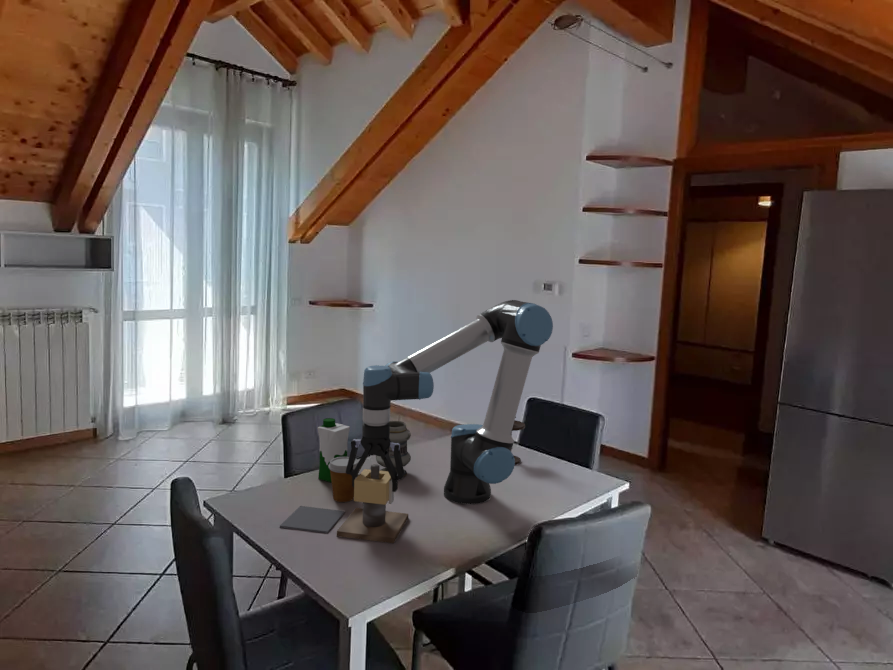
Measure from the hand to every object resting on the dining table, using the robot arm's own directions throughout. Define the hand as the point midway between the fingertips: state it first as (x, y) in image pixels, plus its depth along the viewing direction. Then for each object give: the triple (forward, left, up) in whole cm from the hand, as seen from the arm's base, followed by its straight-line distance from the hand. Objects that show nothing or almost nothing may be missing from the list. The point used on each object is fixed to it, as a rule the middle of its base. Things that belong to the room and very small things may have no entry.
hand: (374, 500), depth 178 cm
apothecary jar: (+6, -42, -8) cm, 43 cm away
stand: (0, 0, -8) cm, 8 cm away
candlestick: (-32, -67, -8) cm, 75 cm away
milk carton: (+24, -32, -8) cm, 41 cm away
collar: (0, 0, +1) cm, 1 cm away
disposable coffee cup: (+15, -17, -8) cm, 24 cm away
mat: (+18, 0, -8) cm, 20 cm away
